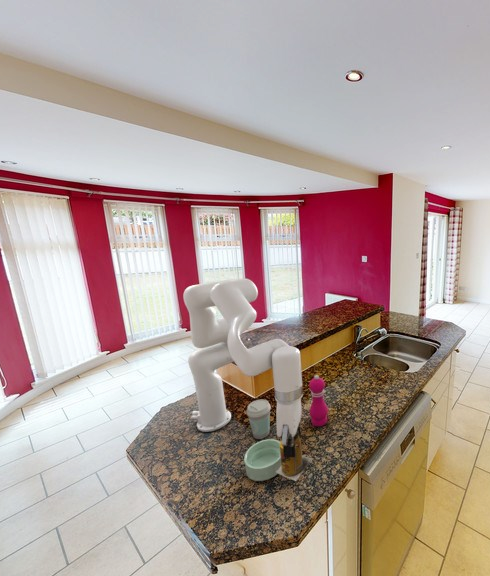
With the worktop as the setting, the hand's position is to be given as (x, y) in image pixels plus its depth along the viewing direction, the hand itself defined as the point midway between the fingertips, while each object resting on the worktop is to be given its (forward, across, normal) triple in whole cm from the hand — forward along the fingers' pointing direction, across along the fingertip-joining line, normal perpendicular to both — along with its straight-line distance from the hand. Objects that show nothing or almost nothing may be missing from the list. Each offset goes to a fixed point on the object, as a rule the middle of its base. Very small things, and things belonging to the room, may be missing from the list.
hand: (292, 446), depth 81 cm
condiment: (+8, -1, 0) cm, 8 cm away
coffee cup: (+14, -22, -18) cm, 32 cm away
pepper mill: (+14, -29, +3) cm, 32 cm away
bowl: (+13, -7, -11) cm, 19 cm away
